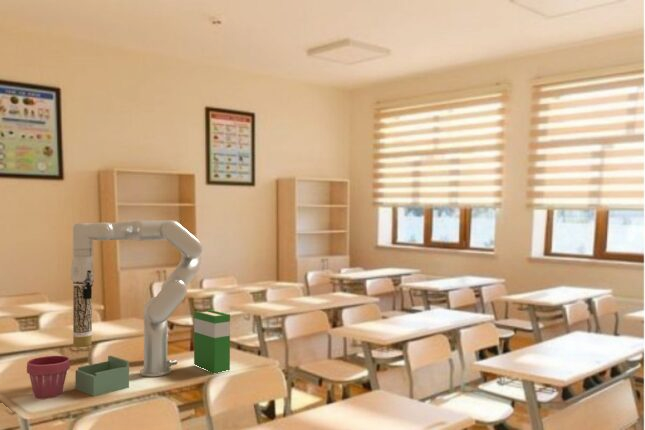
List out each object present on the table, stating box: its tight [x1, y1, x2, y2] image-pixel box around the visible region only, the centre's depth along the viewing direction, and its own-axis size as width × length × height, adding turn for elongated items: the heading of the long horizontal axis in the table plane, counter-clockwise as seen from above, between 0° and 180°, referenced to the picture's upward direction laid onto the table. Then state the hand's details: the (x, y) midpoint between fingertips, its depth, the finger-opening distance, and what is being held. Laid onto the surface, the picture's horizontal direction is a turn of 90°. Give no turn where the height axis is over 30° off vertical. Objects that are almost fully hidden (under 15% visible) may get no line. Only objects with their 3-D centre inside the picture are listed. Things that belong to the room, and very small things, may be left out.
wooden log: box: [72, 282, 93, 348], centre depth 216 cm, size 7×7×25 cm
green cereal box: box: [193, 309, 231, 374], centre depth 234 cm, size 18×7×24 cm, turn 42°
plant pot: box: [26, 355, 71, 400], centre depth 197 cm, size 14×14×13 cm
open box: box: [74, 355, 130, 397], centre depth 205 cm, size 14×14×10 cm
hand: (82, 297), depth 216 cm, fingers closed on wooden log, 6 cm apart
